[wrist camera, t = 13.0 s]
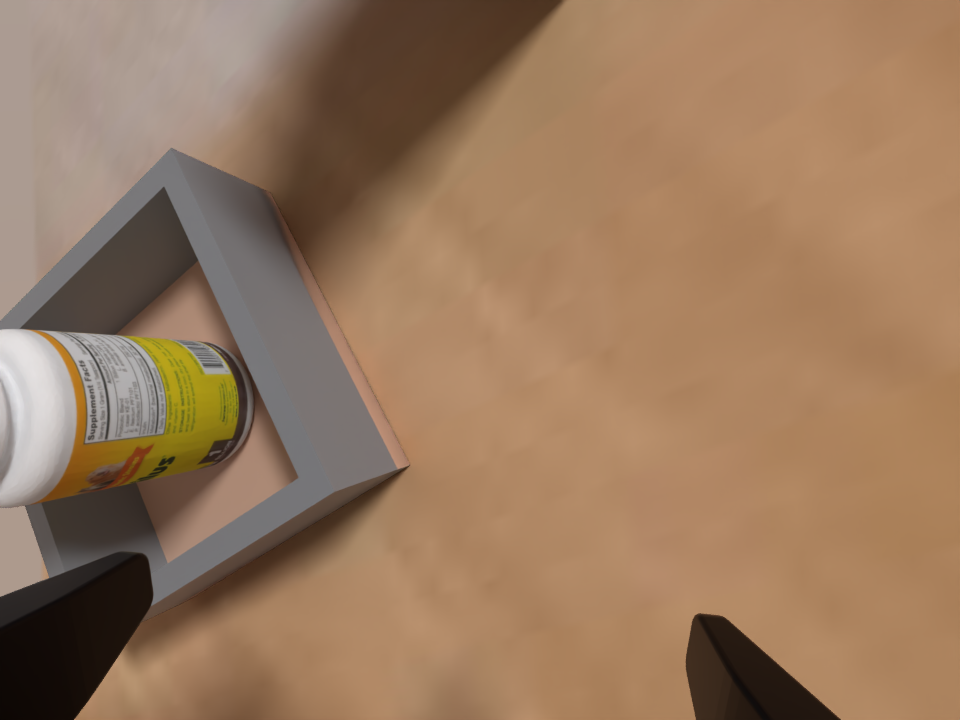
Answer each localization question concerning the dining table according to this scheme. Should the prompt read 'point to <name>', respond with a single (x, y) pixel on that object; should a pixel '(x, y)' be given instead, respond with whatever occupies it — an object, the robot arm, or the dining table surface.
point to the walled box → (252, 340)
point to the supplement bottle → (113, 411)
